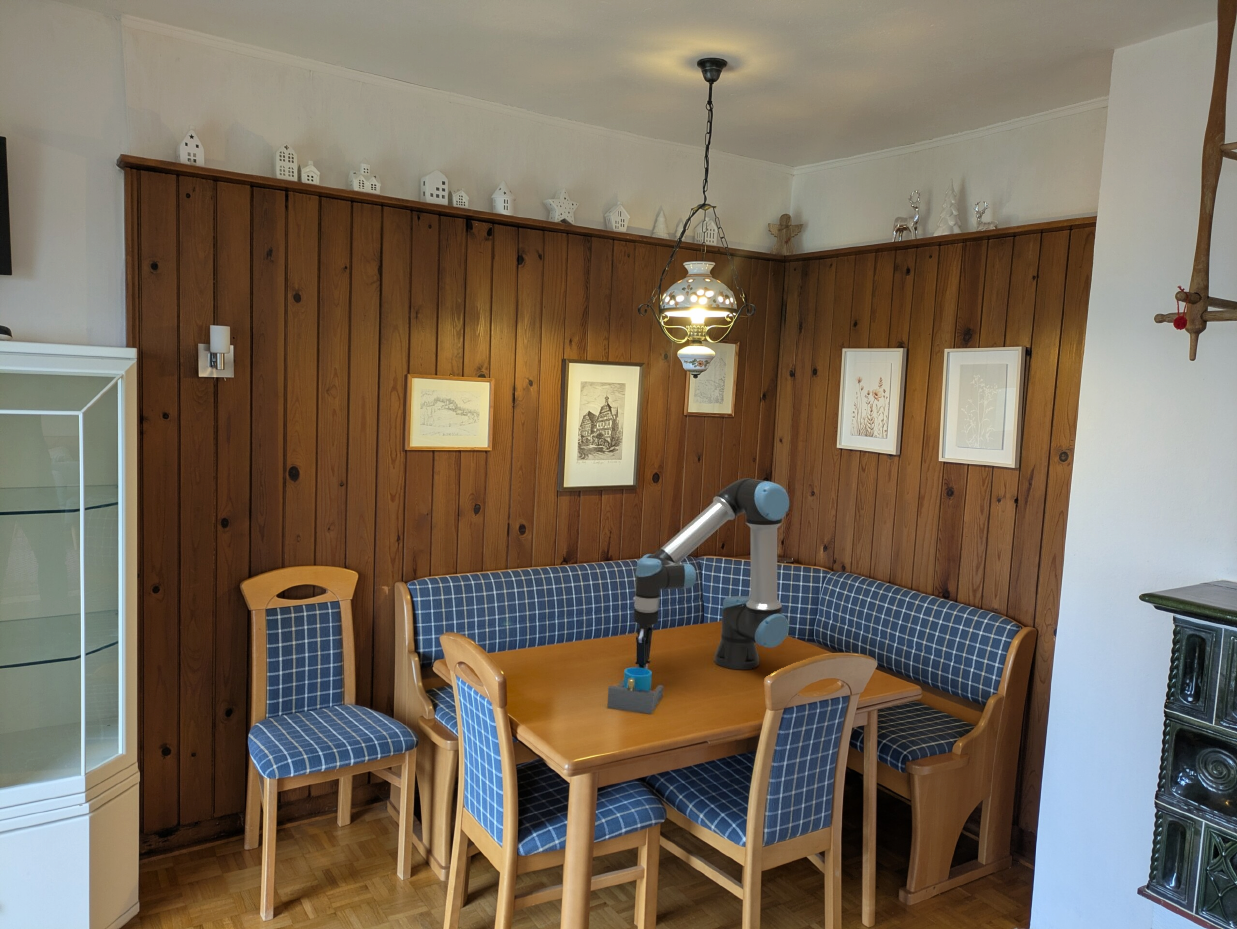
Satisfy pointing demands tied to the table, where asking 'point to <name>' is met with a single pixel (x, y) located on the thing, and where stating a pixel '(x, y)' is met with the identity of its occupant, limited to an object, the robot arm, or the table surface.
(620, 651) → the table surface
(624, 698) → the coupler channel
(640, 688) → the mug
